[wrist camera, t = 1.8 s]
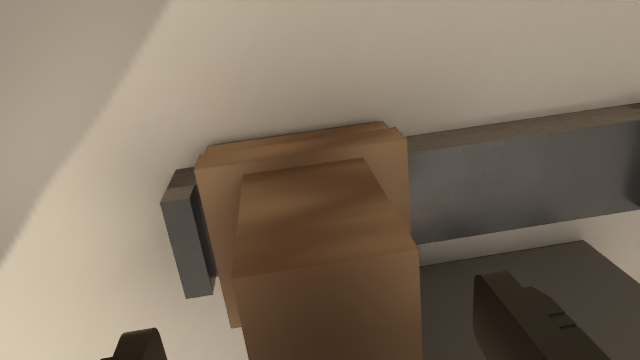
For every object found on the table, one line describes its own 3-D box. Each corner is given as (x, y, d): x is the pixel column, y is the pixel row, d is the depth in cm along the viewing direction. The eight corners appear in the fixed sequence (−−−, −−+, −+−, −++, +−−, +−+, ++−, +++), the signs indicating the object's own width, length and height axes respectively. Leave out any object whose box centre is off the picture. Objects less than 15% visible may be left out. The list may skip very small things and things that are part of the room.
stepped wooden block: (382, 114, 19) (487, 222, 10) (390, 251, 21) (481, 435, 12) (206, 138, 18) (153, 274, 9) (236, 276, 21) (215, 484, 12)
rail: (644, 102, 20) (709, 121, 17) (630, 187, 22) (688, 218, 19) (176, 169, 19) (160, 202, 16) (197, 254, 20) (185, 299, 17)
